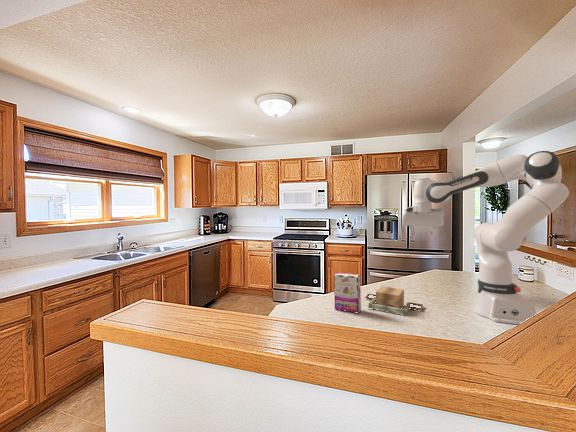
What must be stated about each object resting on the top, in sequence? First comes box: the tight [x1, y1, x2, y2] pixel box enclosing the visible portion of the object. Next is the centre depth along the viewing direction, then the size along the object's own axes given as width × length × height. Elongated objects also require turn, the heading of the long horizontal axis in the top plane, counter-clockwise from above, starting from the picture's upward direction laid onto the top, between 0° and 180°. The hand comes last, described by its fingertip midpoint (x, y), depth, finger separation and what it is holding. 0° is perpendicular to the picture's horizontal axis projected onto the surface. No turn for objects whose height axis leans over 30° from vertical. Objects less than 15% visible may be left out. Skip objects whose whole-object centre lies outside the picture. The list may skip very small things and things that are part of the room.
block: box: [375, 285, 405, 309], centre depth 126 cm, size 10×10×8 cm
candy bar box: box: [333, 272, 362, 314], centre depth 124 cm, size 11×5×16 cm, turn 62°
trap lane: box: [364, 293, 424, 316], centre depth 128 cm, size 26×18×2 cm
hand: (422, 234), depth 148 cm, fingers open, 8 cm apart
